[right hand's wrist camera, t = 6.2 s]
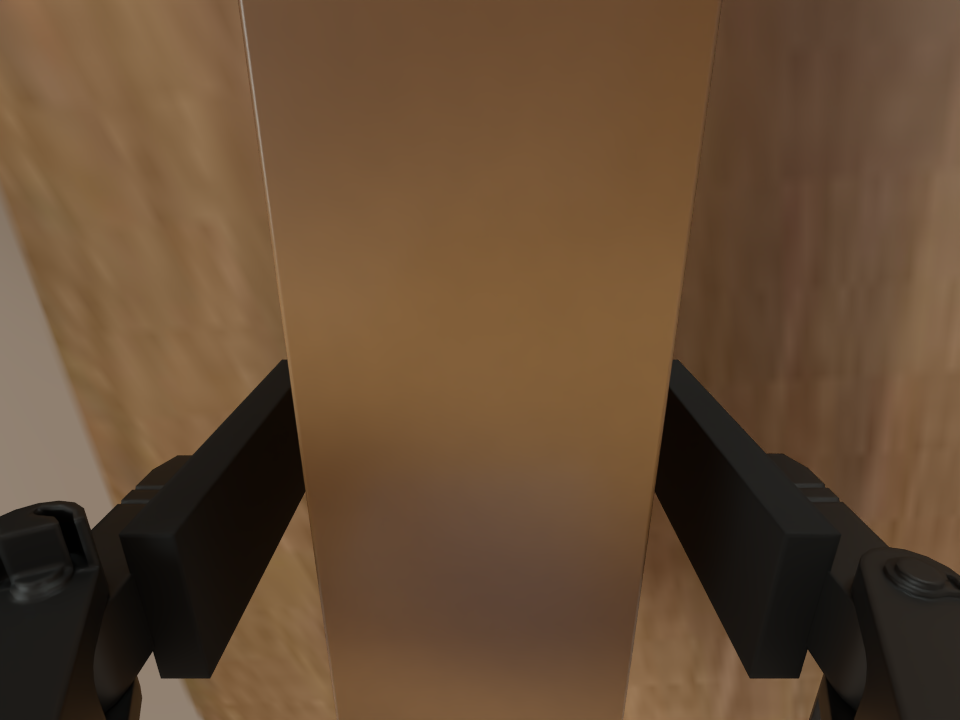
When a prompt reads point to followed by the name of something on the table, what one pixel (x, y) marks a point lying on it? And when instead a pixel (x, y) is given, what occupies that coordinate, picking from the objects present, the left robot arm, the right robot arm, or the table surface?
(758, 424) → the table surface
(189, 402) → the table surface
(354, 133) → the post
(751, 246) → the table surface
